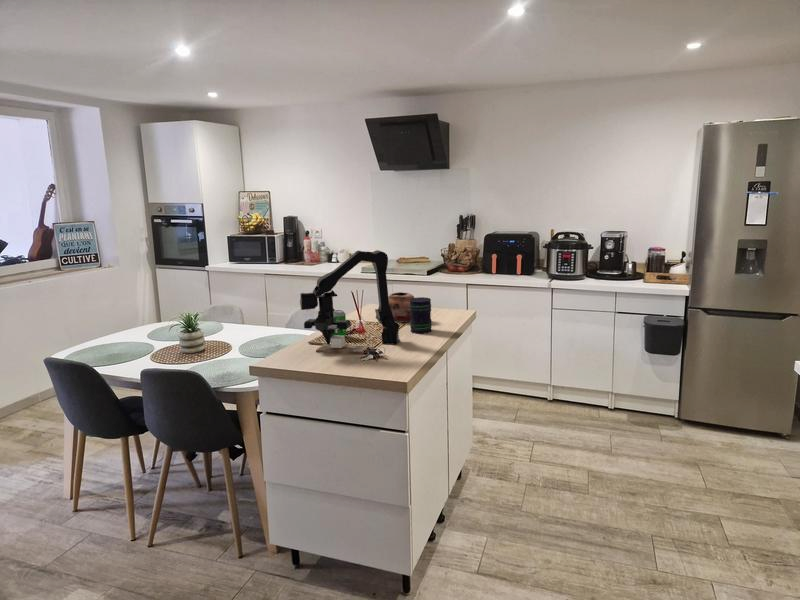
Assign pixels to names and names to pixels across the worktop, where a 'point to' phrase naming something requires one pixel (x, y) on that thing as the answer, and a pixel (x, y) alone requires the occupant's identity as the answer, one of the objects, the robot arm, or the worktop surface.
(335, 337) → the white cube
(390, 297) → the decorative planter
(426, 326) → the storage jar
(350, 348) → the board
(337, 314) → the soda can
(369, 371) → the worktop surface
